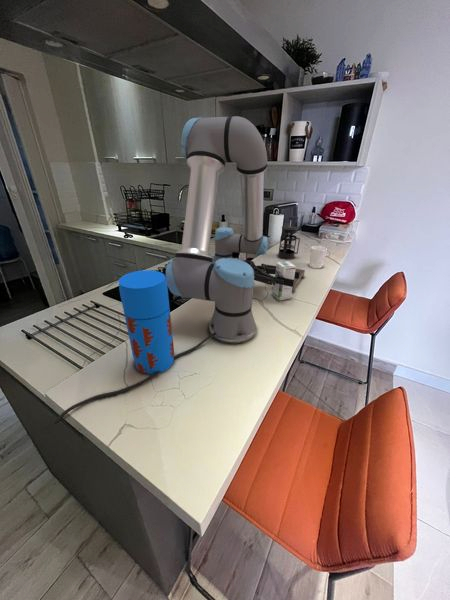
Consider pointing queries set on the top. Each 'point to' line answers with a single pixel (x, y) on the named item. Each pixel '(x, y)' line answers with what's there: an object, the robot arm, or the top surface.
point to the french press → (286, 251)
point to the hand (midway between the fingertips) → (296, 279)
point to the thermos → (148, 319)
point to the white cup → (317, 256)
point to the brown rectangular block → (299, 277)
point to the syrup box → (286, 272)
